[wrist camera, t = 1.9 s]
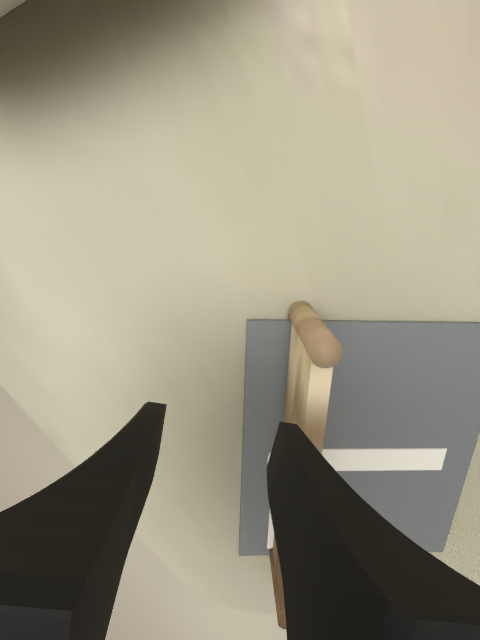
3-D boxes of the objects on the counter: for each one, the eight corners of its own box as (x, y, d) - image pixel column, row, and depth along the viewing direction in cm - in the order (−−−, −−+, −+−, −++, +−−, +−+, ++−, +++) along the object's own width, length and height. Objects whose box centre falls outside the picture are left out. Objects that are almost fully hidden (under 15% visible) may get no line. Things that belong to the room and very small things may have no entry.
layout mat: (508, 322, 21) (513, 324, 21) (440, 548, 27) (443, 552, 27) (247, 319, 20) (247, 321, 20) (238, 551, 27) (238, 556, 26)
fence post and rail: (298, 447, 24) (321, 525, 18) (287, 553, 27) (304, 648, 21) (275, 447, 24) (290, 526, 18) (267, 554, 27) (278, 648, 21)
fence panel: (298, 448, 23) (320, 519, 18) (278, 448, 23) (292, 520, 18) (313, 301, 20) (344, 338, 14) (289, 301, 20) (312, 338, 14)
